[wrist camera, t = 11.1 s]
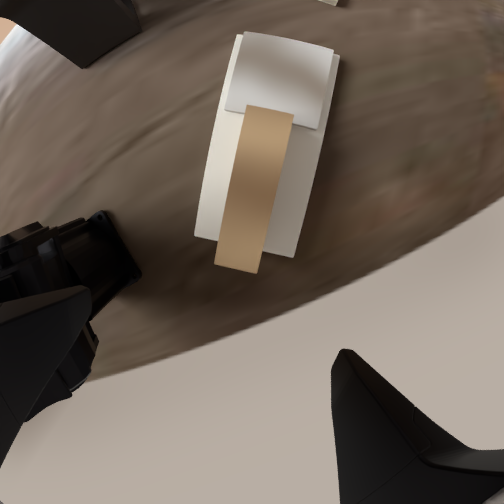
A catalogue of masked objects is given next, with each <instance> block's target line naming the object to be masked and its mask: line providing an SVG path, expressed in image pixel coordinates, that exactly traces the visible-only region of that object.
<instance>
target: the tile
mask: <svg viewBox="0 0 504 504" xmlns="http://www.w3.org/2000/svg"><path fill="white" fill-rule="evenodd" d="M318 1H321V2H324V3H327V4H330V5H333V6H336V4H337V2H338V0H318Z"/></svg>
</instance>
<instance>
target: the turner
mask: <svg viewBox="0 0 504 504" xmlns="http://www.w3.org/2000/svg"><path fill="white" fill-rule="evenodd" d="M333 51H334V50H332V49H328V48H325V47H321V46H317V45H314V44H310V43H306V42H301V41H297V40H292V39H288V38H283V37H278V36H272V35H266V34H260V33H253V32H246V31H244V35H243V38H242V42H241V45H240V49H239V52H238V56H237V60H236V63H235V67H234V71H233V75H232V79H231V83H230V87H229V91H228V95H227V99H226V103H225V108H224V110H225V111H227V112H233V113H239V114H244V119H243V123H242V127H241V132H240V136H239V141H238V145H237V150H236V154H235V159H234V164H233V169H232V173H231V178H230V183H229V188H228V193H227V198H226V203H225V208H224V213H223V218H222V223H221V229H220V234H219V239H218V245H217V250H216V256H215V261H214V264H216V265H220V266H225V267H229V268H233V269H238V270H242V271H247V272H251V273H255V274H257V271H258V267H259V263H260V259H261V254H262V250H263V246H264V242H265V238H266V234H267V229H268V225H269V221H270V217H271V213H272V208H273V204H274V200H275V196H276V191H277V187H278V183H279V179H280V174H281V170H282V166H283V162H284V157H285V153H286V149H287V144H288V140H289V135H290V131H291V127H292V125H296V126H300V127H304V128H308V129H311V130H317V128H318V123H319V119H320V114H321V110H322V105H323V101H324V96H325V91H326V86H327V81H328V77H329V72H330V67H331V62H332V56H333Z"/></svg>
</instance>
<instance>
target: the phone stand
mask: <svg viewBox="0 0 504 504" xmlns="http://www.w3.org/2000/svg"><path fill="white" fill-rule="evenodd" d="M0 17H2V18H6V19H9V20H11V21H13V22H15V23H16V24H18V25H19V26H21V27H22V28H24V29H26V30H27V31H28V32H30V33H31V34H33V35H34V36H36V37H37V38H39V39H40V40H42V41H43V42H45V43H46V44H48V45H49V46H50V47H52V48H53V49H55V50H56V51H58V52H59V53H60V54H62V55H63V56H65V57H66V58H67V59H69V60H70V61H72V62H73V63H74V64H76V65H77V66H78V67H80V68H81V69H83V68H85V67H86V66H87V65H89V64H90V63H91V62H93V61H94V60H96V59H97V58H99V57H100V56H101V55H103V54H104V53H106V52H107V51H109V50H110V49H112V48H114V47H115V46H117V45H118V44H120V43H122V42H123V41H125V40H126V39H128V38H130V37H132V36H133V35H135V34H137V33H139V32H140V31H142V29H141V26H140V23H139V20H138V17H137V15H136V12H135V9H134V6H133V3H132V1H131V0H0Z"/></svg>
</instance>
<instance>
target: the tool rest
mask: <svg viewBox="0 0 504 504" xmlns="http://www.w3.org/2000/svg"><path fill="white" fill-rule="evenodd" d="M242 38H243V35H239V34H237V37H236V40H235V44H234V47H233V51H232V55H231V59H230V62H229V66H228V70H227V74H226V78H225V82H224V86H223V90H222V94H221V98H220V103H219V107H218V111H217V116H216V120H215V125H214V129H213V134H212V139H211V144H210V148H209V153H208V158H207V164H206V169H205V174H204V179H203V185H202V191H201V196H200V202H199V208H198V214H197V220H196V226H195V233H194V236H197V237H201V238H206V239H210V240H215V241H218V239H219V234H220V229H221V223H222V218H223V213H224V208H225V203H226V198H227V193H228V188H229V183H230V178H231V173H232V169H233V164H234V159H235V154H236V150H237V145H238V141H239V136H240V132H241V127H242V123H243V119H244V114H239V113H233V112H227V111H225V110H224V108H225V103H226V99H227V95H228V91H229V87H230V83H231V79H232V75H233V71H234V67H235V63H236V60H237V56H238V52H239V49H240V45H241V42H242ZM339 58H340V56H339V55H336V54H333V56H332V62H331V67H330V72H329V77H328V81H327V86H326V91H325V96H324V101H323V105H322V110H321V114H320V119H319V123H318V128H317V130H311V129H308V128H304V127H300V126H296V125H292V127H291V131H290V135H289V140H288V144H287V149H286V153H285V157H284V162H283V166H282V170H281V174H280V179H279V183H278V187H277V191H276V196H275V200H274V204H273V208H272V213H271V217H270V221H269V225H268V229H267V234H266V238H265V242H264V246H263V250H262V251H264V252H269V253H273V254H278V255H282V256H287V257H291V258H293V257H294V254H295V250H296V246H297V243H298V239H299V235H300V232H301V228H302V224H303V220H304V216H305V212H306V208H307V204H308V200H309V196H310V192H311V188H312V184H313V180H314V176H315V172H316V168H317V163H318V159H319V155H320V150H321V146H322V142H323V137H324V133H325V128H326V123H327V119H328V114H329V109H330V105H331V100H332V95H333V90H334V85H335V80H336V74H337V69H338V64H339Z"/></svg>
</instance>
